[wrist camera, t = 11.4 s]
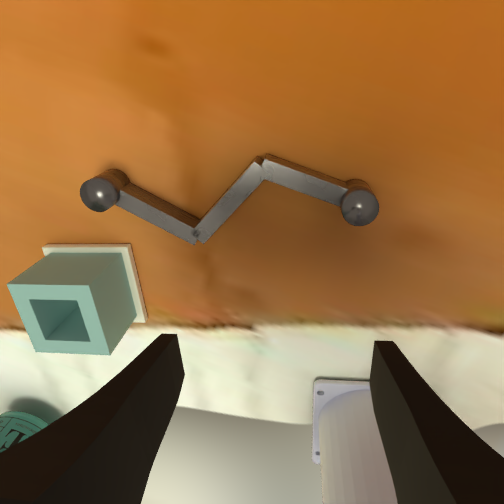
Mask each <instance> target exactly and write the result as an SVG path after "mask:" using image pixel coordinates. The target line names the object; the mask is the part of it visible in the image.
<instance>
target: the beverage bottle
mask: <svg viewBox="0 0 504 504" xmlns="http://www.w3.org/2000/svg"><path fill="white" fill-rule="evenodd" d="M48 425H49V424H47V423H46V422H45V421H43V420H42V419H40V418H38V417H36V416H34V415H31V414H28V413H24V412H19V411H10V412H5V413H3V414H1V415H0V452H2V451H4V450H6V449H8V448H10V447H12V446H14V445H16V444H17V443H19V442H21V441H23V440H25V439H26V438H28V437H30V436H32V435H33V434H35V433H37V432H39V431H40V430H42V429H43V428H45V427H47V426H48Z"/></svg>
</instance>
